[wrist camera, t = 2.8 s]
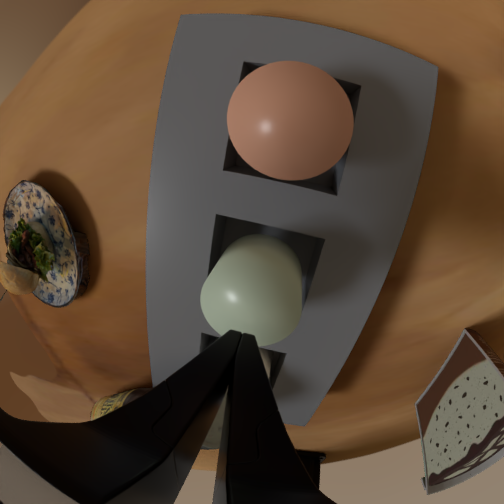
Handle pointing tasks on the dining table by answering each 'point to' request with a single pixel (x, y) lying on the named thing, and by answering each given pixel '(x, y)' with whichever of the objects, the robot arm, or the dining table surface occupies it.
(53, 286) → the burger
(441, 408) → the food container
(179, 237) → the panel
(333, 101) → the terracotta button
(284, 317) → the sage button
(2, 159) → the dining table surface
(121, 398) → the sauce bottle
